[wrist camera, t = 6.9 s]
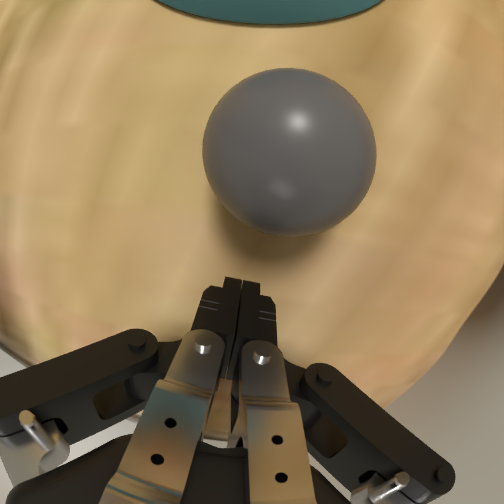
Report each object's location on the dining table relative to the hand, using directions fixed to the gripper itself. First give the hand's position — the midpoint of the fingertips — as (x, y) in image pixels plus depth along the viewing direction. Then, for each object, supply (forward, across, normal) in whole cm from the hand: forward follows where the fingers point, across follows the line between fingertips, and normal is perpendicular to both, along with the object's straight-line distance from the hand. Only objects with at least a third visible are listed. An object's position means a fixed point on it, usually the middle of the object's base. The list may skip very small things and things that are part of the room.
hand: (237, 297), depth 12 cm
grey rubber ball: (-1, -1, -6) cm, 6 cm away
